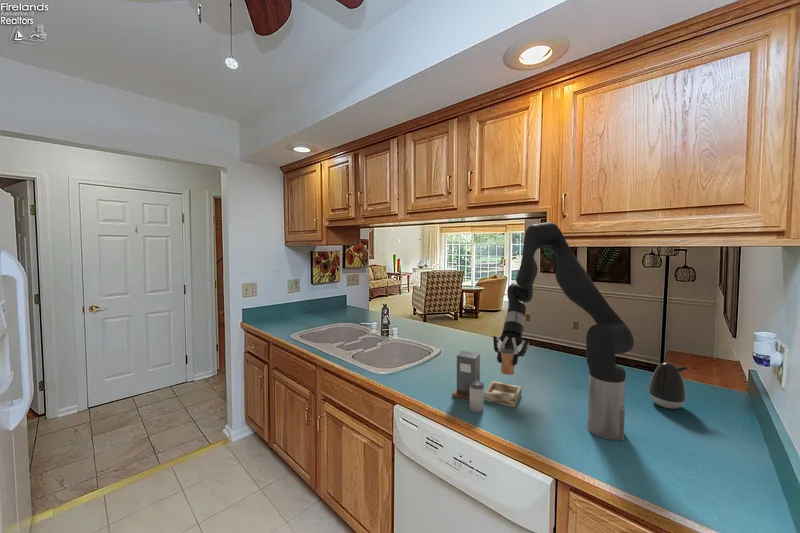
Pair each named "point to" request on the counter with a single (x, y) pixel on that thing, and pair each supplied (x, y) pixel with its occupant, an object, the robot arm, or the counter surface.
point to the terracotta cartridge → (507, 361)
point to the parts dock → (503, 393)
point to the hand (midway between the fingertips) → (506, 363)
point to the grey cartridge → (476, 396)
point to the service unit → (466, 373)
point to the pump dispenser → (668, 386)
